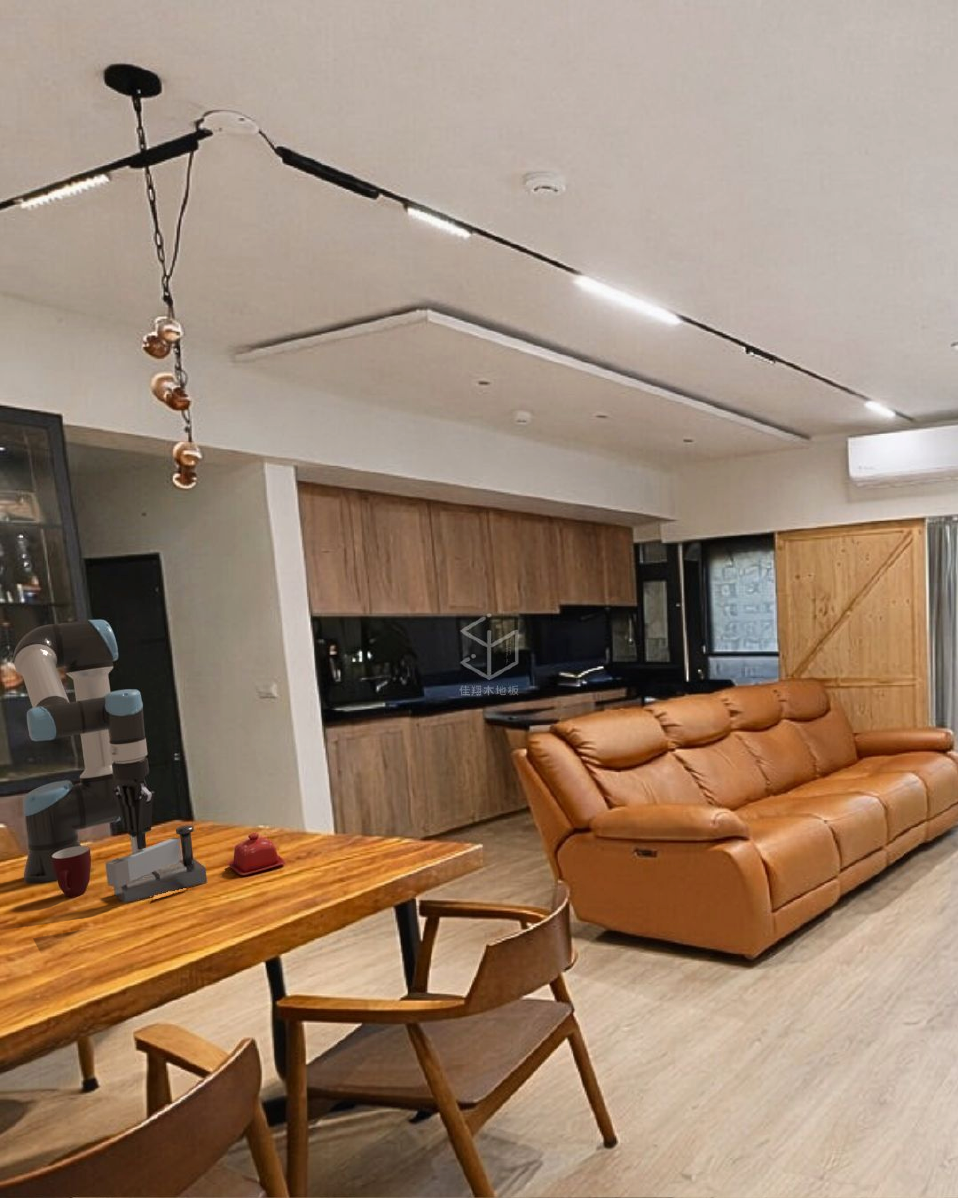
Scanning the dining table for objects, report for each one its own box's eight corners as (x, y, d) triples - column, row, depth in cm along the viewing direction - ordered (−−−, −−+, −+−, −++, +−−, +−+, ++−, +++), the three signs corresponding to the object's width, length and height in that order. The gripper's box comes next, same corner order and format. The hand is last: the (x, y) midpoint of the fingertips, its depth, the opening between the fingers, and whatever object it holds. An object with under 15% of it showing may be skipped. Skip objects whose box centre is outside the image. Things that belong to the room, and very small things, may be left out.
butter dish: (288, 867, 206) (284, 832, 206) (241, 881, 200) (237, 845, 199) (271, 855, 216) (267, 822, 215) (225, 868, 209) (222, 834, 209)
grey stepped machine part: (114, 896, 196) (108, 843, 195) (193, 873, 207) (187, 822, 206) (126, 909, 188) (119, 853, 187) (207, 884, 199) (201, 831, 198)
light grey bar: (173, 858, 201) (171, 837, 201) (183, 860, 199) (181, 839, 199) (107, 885, 187) (105, 863, 187) (117, 887, 185) (115, 865, 185)
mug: (88, 902, 194) (82, 858, 194) (49, 908, 193) (44, 864, 192) (98, 884, 205) (93, 843, 204) (61, 890, 203) (56, 849, 202)
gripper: (97, 761, 193) (108, 863, 194) (131, 766, 185) (142, 872, 187) (128, 753, 199) (138, 852, 200) (161, 757, 191) (172, 860, 193)
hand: (140, 862), depth 194 cm, fingers closed
